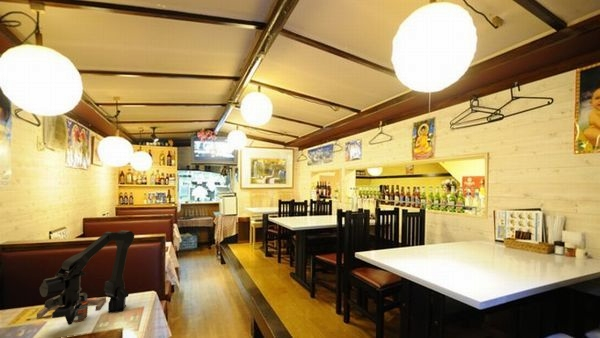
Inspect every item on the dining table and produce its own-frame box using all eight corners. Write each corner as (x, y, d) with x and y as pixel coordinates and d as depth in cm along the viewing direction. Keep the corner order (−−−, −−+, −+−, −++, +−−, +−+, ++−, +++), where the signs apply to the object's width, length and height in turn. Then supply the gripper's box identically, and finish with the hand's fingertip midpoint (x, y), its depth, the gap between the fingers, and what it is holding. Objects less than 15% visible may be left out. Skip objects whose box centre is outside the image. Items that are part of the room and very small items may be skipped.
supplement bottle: (78, 323, 125) (79, 298, 126) (67, 322, 126) (68, 297, 127) (90, 317, 131) (91, 293, 132) (80, 315, 132) (81, 292, 133)
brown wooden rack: (105, 301, 148) (106, 296, 148) (99, 310, 138) (99, 304, 138) (48, 308, 140) (48, 302, 140) (36, 318, 130) (36, 311, 130)
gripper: (59, 282, 126) (57, 317, 126) (36, 299, 109) (34, 339, 108) (88, 280, 130) (86, 313, 129) (70, 295, 113) (68, 334, 112)
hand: (70, 324), depth 120 cm, fingers closed
